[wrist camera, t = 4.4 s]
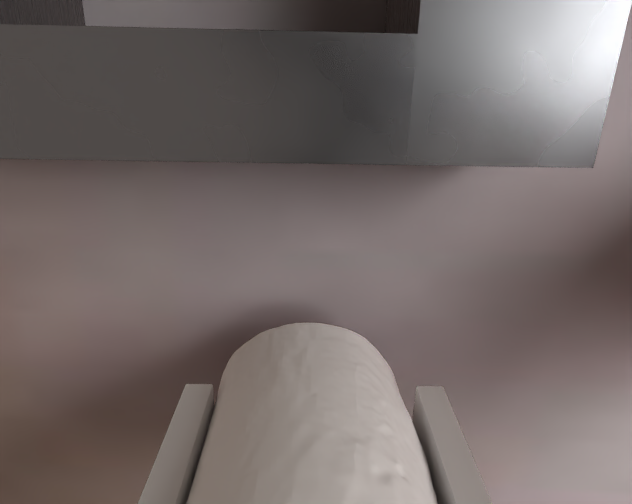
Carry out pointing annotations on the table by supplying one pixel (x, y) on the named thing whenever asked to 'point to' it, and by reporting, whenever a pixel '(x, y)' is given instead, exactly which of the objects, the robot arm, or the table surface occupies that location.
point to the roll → (310, 425)
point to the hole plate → (316, 87)
